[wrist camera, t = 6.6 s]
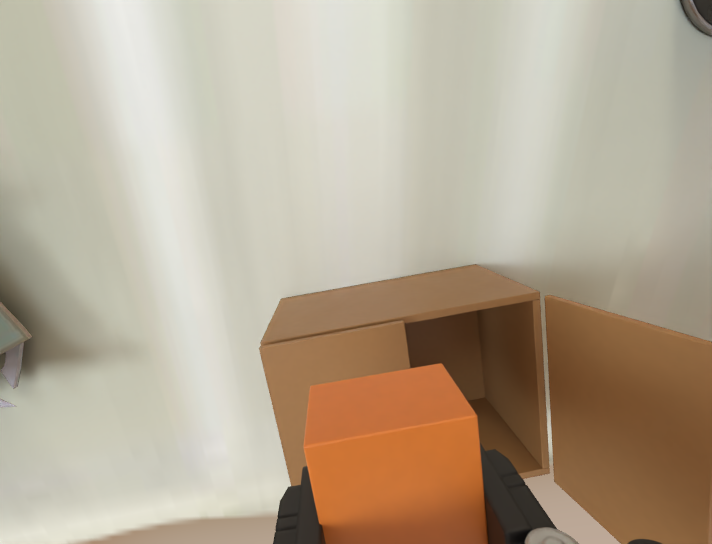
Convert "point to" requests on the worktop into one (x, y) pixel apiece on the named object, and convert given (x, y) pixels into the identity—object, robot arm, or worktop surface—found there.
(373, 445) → the block
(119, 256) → the worktop surface
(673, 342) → the cardboard box flap
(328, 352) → the open shipping carton
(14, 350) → the ornate book
